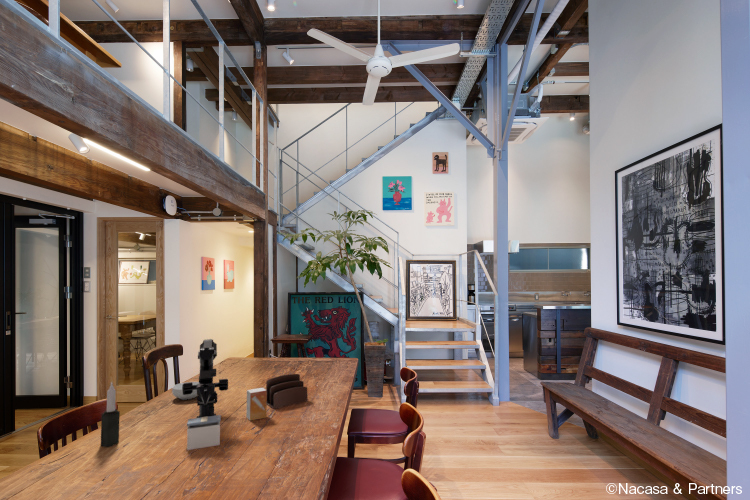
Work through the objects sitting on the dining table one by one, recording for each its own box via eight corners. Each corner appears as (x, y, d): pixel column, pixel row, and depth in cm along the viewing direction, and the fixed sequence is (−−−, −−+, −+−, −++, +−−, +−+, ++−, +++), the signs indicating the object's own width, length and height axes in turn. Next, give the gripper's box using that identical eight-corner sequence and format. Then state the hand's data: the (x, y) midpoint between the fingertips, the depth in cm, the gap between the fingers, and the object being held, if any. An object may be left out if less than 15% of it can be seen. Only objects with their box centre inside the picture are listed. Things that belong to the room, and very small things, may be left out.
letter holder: (265, 404, 209) (265, 377, 210) (299, 397, 221) (299, 371, 222) (273, 409, 201) (273, 381, 202) (307, 401, 214) (307, 375, 215)
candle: (120, 442, 162) (121, 381, 164) (108, 447, 158) (110, 384, 159) (111, 441, 164) (113, 380, 166) (99, 446, 159) (101, 383, 161)
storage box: (188, 442, 162) (188, 422, 162) (219, 437, 166) (219, 418, 167) (187, 450, 154) (187, 429, 155) (219, 444, 159) (219, 424, 159)
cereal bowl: (195, 402, 214) (195, 389, 215) (165, 402, 214) (165, 389, 215) (209, 393, 231) (209, 380, 232) (181, 393, 231) (181, 381, 232)
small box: (249, 421, 185) (250, 393, 186) (246, 417, 190) (246, 389, 191) (266, 417, 189) (267, 390, 190) (262, 413, 195) (262, 387, 196)
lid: (188, 421, 163) (188, 418, 163) (220, 416, 167) (220, 414, 167) (186, 426, 155) (186, 423, 155) (220, 421, 159) (220, 419, 160)
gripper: (183, 364, 172) (180, 397, 161) (228, 360, 178) (228, 392, 168) (184, 378, 178) (181, 410, 168) (227, 374, 185) (228, 405, 174)
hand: (205, 404), depth 169 cm, fingers closed
